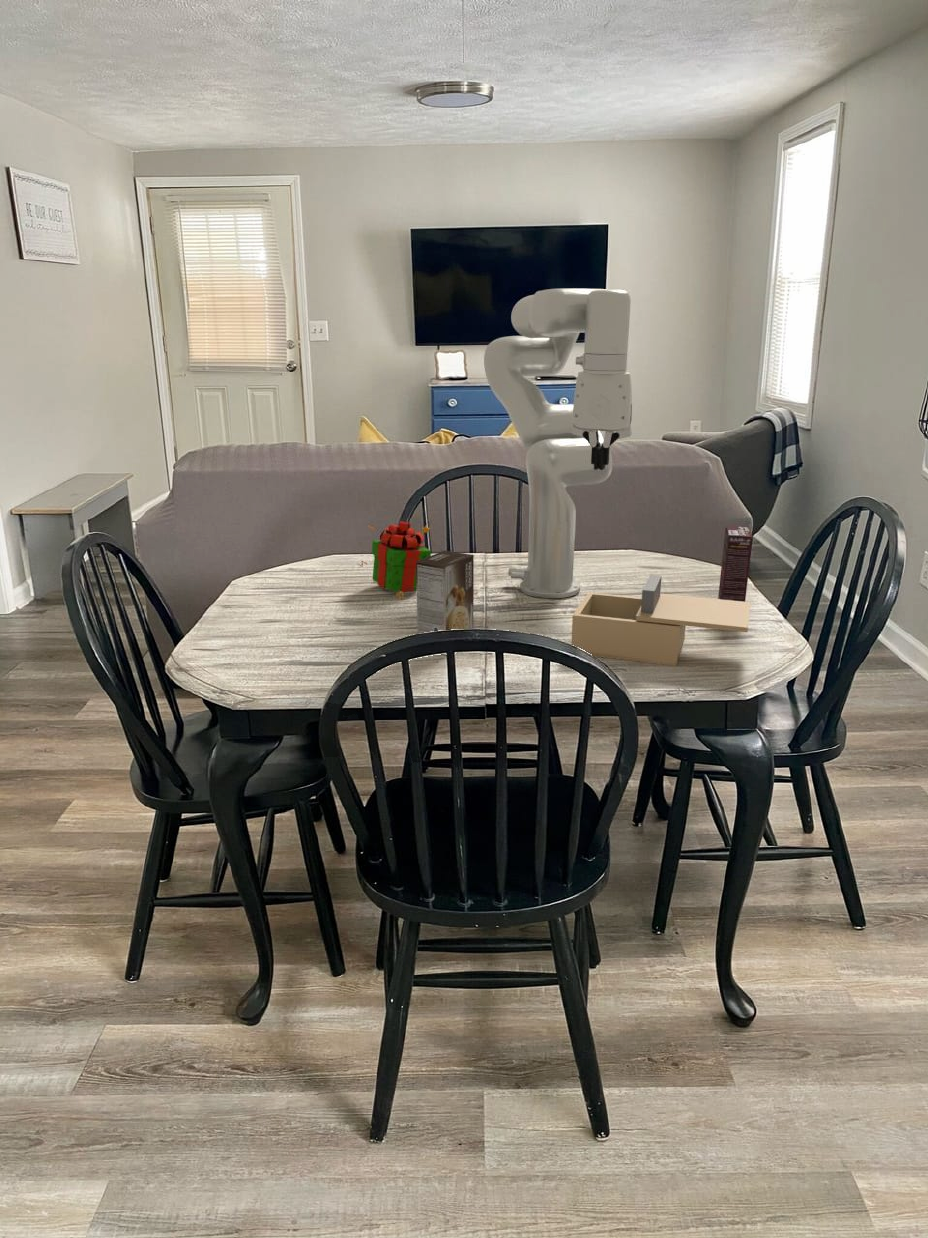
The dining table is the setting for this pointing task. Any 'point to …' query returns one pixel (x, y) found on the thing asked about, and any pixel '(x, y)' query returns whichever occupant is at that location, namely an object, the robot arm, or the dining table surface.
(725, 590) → the supplement box
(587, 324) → the robot arm
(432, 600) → the coffee box
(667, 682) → the dining table surface
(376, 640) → the dining table surface
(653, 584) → the lid
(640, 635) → the tray
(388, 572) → the green gift box
